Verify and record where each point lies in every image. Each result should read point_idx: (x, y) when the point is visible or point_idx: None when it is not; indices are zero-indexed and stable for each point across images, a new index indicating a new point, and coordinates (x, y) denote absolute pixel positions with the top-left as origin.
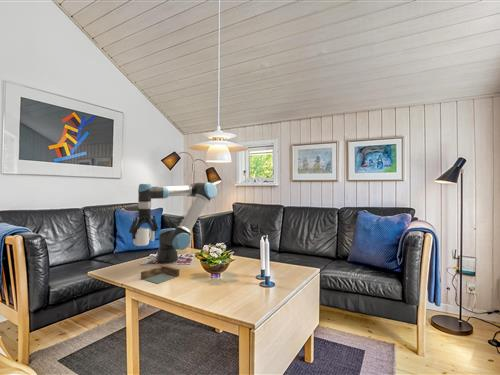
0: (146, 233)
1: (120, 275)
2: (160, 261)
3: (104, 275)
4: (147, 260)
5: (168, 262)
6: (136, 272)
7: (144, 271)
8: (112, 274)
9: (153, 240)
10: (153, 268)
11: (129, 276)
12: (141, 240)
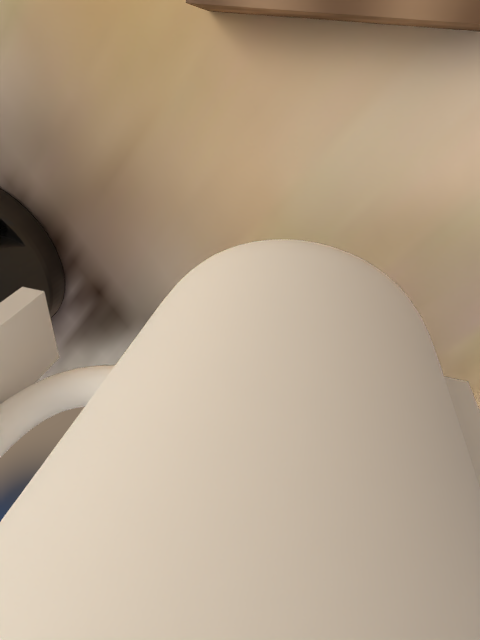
0: (244, 484)
1: (441, 292)
2: (53, 259)
3: (474, 383)
4: (94, 365)
5: (11, 198)
6: (327, 240)
7: (478, 2)
8: (437, 355)
9: (31, 303)
10: (319, 8)
11: (443, 209)
12: (423, 361)
